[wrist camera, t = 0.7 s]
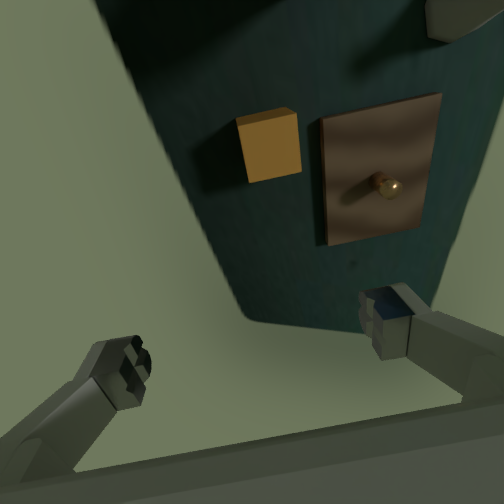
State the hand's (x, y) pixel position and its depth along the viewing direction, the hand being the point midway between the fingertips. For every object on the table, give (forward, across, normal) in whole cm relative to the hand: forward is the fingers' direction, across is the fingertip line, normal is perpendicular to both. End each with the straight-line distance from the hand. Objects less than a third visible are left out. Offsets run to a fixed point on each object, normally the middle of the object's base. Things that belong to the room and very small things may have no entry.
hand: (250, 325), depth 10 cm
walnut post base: (+30, -18, +5) cm, 35 cm away
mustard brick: (+29, -4, -2) cm, 30 cm away
